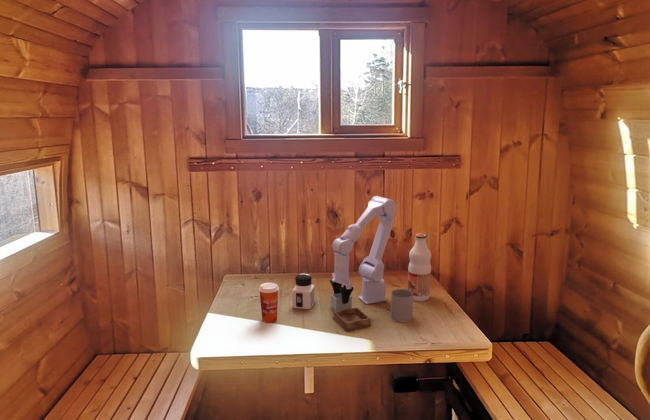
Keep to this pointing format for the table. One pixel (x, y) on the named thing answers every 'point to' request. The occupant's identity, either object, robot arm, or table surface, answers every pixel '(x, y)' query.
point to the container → (303, 292)
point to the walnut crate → (351, 319)
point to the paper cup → (269, 301)
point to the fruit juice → (419, 269)
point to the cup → (401, 305)
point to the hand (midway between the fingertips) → (341, 299)
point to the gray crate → (340, 302)
